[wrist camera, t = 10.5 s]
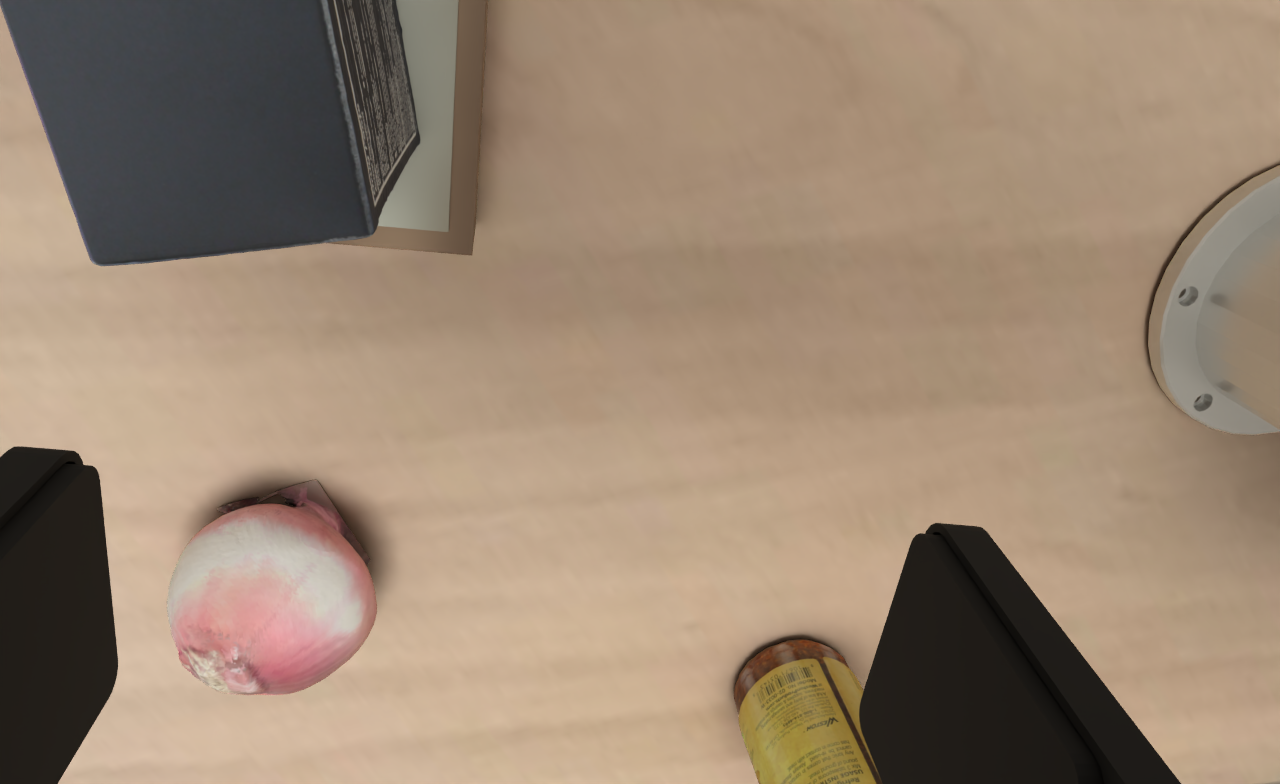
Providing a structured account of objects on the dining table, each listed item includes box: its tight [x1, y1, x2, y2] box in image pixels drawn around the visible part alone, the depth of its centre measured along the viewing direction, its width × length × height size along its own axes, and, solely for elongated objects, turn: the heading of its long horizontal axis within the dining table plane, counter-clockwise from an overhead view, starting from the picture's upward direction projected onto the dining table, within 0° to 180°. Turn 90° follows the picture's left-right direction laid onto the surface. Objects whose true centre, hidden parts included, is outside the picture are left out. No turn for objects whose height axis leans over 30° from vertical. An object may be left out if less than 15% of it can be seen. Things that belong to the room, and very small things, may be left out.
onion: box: [167, 480, 377, 695], centre depth 37 cm, size 8×8×7 cm
